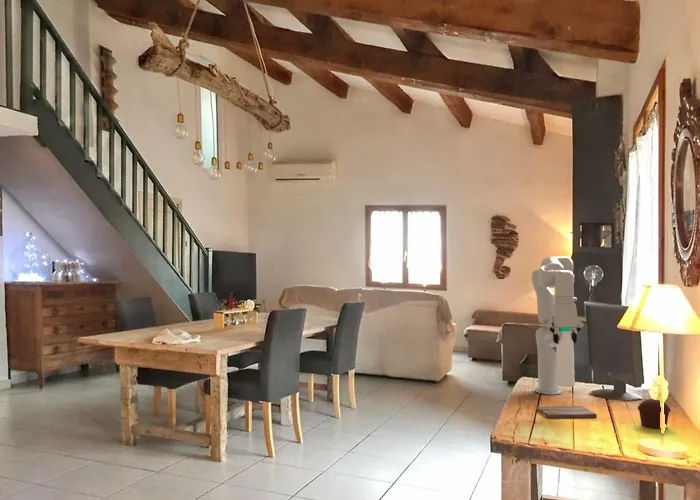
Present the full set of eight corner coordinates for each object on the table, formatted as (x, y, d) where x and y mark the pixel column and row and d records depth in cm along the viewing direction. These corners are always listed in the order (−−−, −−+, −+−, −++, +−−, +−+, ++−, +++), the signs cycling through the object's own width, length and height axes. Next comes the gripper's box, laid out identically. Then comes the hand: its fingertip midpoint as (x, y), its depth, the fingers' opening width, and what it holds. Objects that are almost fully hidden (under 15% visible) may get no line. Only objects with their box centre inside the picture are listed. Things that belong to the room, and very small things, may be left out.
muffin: (647, 430, 232) (647, 403, 232) (631, 422, 243) (631, 397, 243) (677, 429, 233) (677, 402, 233) (660, 421, 244) (660, 396, 244)
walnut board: (536, 410, 264) (536, 406, 264) (583, 409, 264) (582, 405, 264) (547, 418, 250) (547, 414, 250) (596, 417, 250) (596, 414, 250)
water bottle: (572, 383, 260) (570, 324, 261) (576, 387, 253) (575, 326, 254) (555, 383, 261) (553, 324, 261) (559, 387, 254) (557, 326, 254)
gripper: (581, 299, 262) (581, 341, 261) (540, 300, 261) (541, 342, 261) (588, 301, 254) (589, 344, 254) (546, 301, 254) (547, 344, 254)
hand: (564, 342), depth 258 cm, fingers closed on water bottle, 6 cm apart
